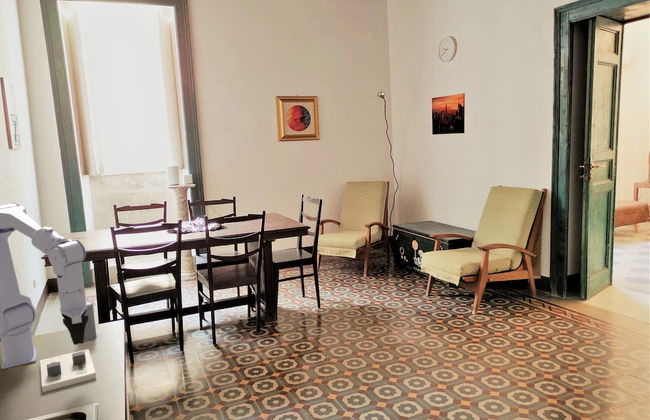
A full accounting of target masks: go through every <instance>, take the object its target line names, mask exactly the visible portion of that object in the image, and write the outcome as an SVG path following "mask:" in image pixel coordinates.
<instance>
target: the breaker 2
mask: <svg viewBox="0 0 650 420" xmlns="http://www.w3.org/2000/svg"><path fill="white" fill-rule="evenodd" d="M81 351H82V350H81ZM72 353H73V352H72ZM72 359H73V365H77V364H81V363H85V362H86V358H85V352H84V351H82V352H78V353H73V354H72Z"/></svg>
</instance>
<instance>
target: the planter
mask: <svg viewBox="0 0 650 420" xmlns="http://www.w3.org/2000/svg"><path fill="white" fill-rule="evenodd" d="M91 304H92V306H91V307H88V308H86V312H85V315H84V316H87V315H88V317H89V318H88V321H87V323H86V327H85V332H84V341H85V342H86V341H87V342H88V341H90V340H93V339H96V337H97V329H96V320H95V313H94V310H95V309H94V305H93V303H91ZM84 341H83V342H84Z"/></svg>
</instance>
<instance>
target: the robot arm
mask: <svg viewBox="0 0 650 420" xmlns="http://www.w3.org/2000/svg"><path fill="white" fill-rule="evenodd" d="M15 231H17V232H19V233H21V234H22V235H24V236H26V237H28V238H30V239H31V244H32V246H33V247H34V248H36V249H37V250H39V251H40V252H42V253H43V254H44V255H46V256H48V261H49V264H50V265H51V267H52V271H53V273H54V275H56V282H57V289H58V290H57V291H58V296H59V304H60V305H59V306H60V308H59V311H60V313H61V316H62V317H63V319H62V323H63V325H64V326H65V328H67V330H68V332H69V335H70V338H71V340H72V341H71V342H72V343H73V345H74V346H76V345H77V346H78V345H80V344H83V343H84V332H85V327H86V323H87V321H88V318H89V317H88V315H87V316H84V315H85V312H86V308H88V307H91V306H92V304H93V303H92V302H91V301H87V299H86V291H85V281H84V273H83V265H82V264H83V263H82V262H83V261H85V259H86V256H87V251H86V248H85V246H84V245H83V243H82V242H81V241H80V240H79V239H68V238H66V237H64V236H63V235H62V234H60V233H58V232H57V231H56V230H54V228H53V227H52V226H51V227H50V226H44V227H41V225H39V224H38V223H37V222H36V221H34V220H33V218H31V217H29V215H28V212H27V210H26V208H25V206H23V205H22V204H20V203H19V202H12V203H9V204H6V203H5V204H2V205H0V345H1V351H2V360H1V362H2V363H1V369H3V370H5V369H8V368H12V367H13V368H14V367H17V366H21V365H25V364H26V365H27V364H31V363H33V362H36V361H37V351H36V350H37V348H36V347H35V346H34V345H33V337H32V327H33V326H34V325H33V323H34V322H35V321H36V319H37V312H36V310H37V309H36V308H35V306H34V304H33V303H32V300H31V297H29V296H27V295H24V294H22V293H20V292H21V291H20V288H19V283H18V279H17V275H16V269H15V267H14V262H13V261H14V260H13V257H12V253H11V249H10V245H9V240H8V239H9V238H10V236H11V234H12V233H13V232H15Z"/></svg>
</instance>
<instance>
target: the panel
mask: <svg viewBox="0 0 650 420" xmlns="http://www.w3.org/2000/svg"><path fill="white" fill-rule="evenodd" d="M89 349H90V348H87V349H82V350H78V351H74V352H69V353H65V354H61V355H57V356H53V357H49V358H44V359H40V360H39V362H40V363H39V364H40V379H41V390H42V393H45V392H49V391H52V390H56V389H60V388H64V387H68V386H72V385H75V384H80V383H83V382H87V381H90V380H94V379H97V375H96V370H95V366H94V362H93V359H92V356H91V355H92V354H91V353H90V350H89ZM82 351H84V352H85V358H86V362H85V363H81V364H77V365H73V359H72V354H73V353H78V352H82ZM56 362H60V366H61V374H57V375H53V376H49V377H48V373H47V364H52V363H56Z"/></svg>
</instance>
